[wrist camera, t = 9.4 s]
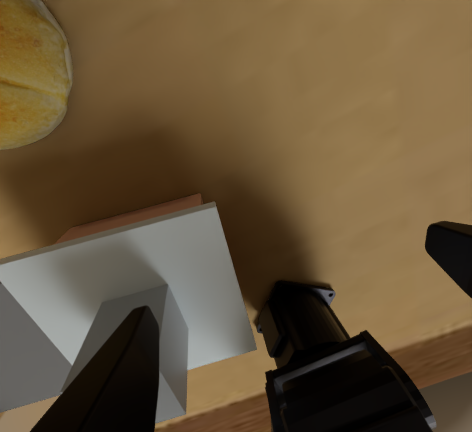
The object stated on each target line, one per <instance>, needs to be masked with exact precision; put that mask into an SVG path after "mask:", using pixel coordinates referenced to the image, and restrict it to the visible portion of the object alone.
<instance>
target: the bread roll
mask: <svg viewBox="0 0 472 432" xmlns="http://www.w3.org/2000/svg"><path fill="white" fill-rule="evenodd" d="M72 83H73V64H72V57H71V53H70V49H69V46H68V42H67V38H66V36H65V34H64V32H63V30H62V28H61V27H60V25H59V24H58V22H57V21H56V19H55V18H54V17H53V15H52V14H51V13H50V12H49V10H48V8H47V7H46V5H45V4H44V3H43V2H42V1H41V0H0V150H2V149H12V148H18V147H22V146H25V145H28V144H31V143H35V142H36V141H38V140H40V139H43V138H44V137H46V136H47V135H49V134H50V133H51V132H52V131H53V130H54V129H55V128H56V127H57V126H58V125H60V123H61V121H62V120H63V118H64V116H65V114H66V112H67V106H68V96H69V93H70V90H71V88H72Z"/></svg>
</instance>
